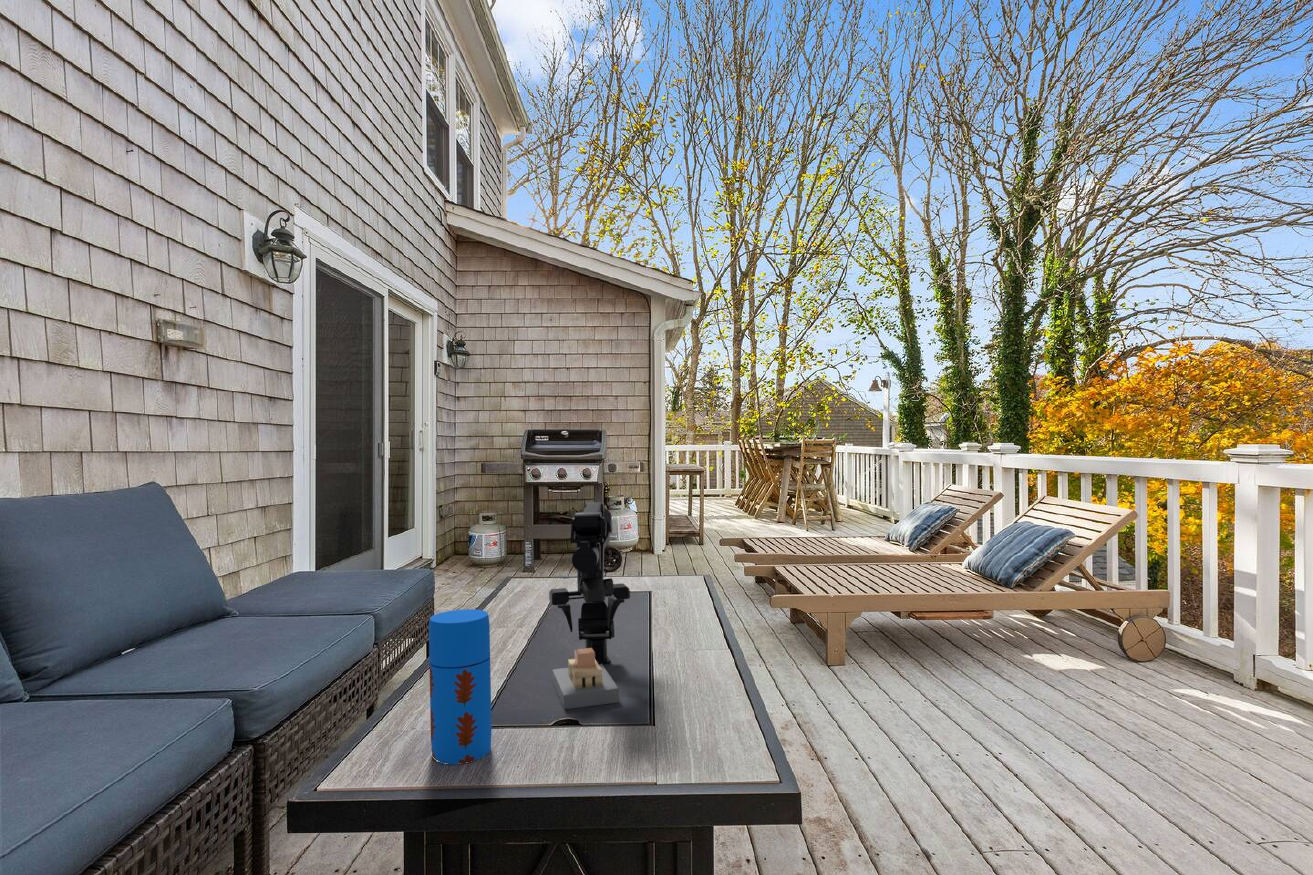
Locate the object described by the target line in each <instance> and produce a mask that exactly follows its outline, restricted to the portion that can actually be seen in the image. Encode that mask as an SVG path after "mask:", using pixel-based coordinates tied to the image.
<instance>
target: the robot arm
mask: <svg viewBox="0 0 1313 875" xmlns="http://www.w3.org/2000/svg"><path fill="white" fill-rule="evenodd" d="M570 529H571V530H570V541H569V542H570V544H576V549H575V551H574V552H573V553H572V556H571V564H572V566H573V568H574V569H575V570H576V572H577V573H576V574H577V575H576V576H577V577H576V578H577V580H576V581H577V582H576V584H577V590H572V591H569V590H568V589H567V588H566V587H562V588H561V587H560V588H551V589H550V590H549V591H548V592H549V594H548V600H549V602H550V604H551V606H556V608H558V609H561V610H562V612H563V615H564V617H565V620H566V624H567V627H568V629H569V631H570V632H569V633H573V620H572V613H571V605H570V603H569V601H570V600H580V599H583V600H584V601H585V602H583V603H582V605H581V609H580V615H579V616H578V618H577V620H578V622H577V624H578V625H577V626H578V628H577V629H578V640H579V641H583V640H584V646H585V647H584V649H585V648H592V649H593V651H594V652H595V660H596V661H597V663H598V664H602V665H605V664H610V663H612V660H611V659H610V657H609V656H608V640H612V638H615V634H616V633H615V621H614V619H615V615H616V612H617V610H618V608H619V606H620V605H621V604H624V603H625V601H626V600H629V599H631V590H630V588H629V587H628V586H627V585H626V584H624V583H623V582H622V583H614V580H613V578H612V577H611V578H605V577H604V576H605V574H604V572H605V571H604V570H605V548H606V547H607V545H609V543H610V540H611V534H612V533H613V518H612V513H611V512H610V511H609V510H608V509H606V507H605V503H604V502H601V501H597V502H596V501H595V502H594V501H593V502H592V501H591V502H590V501H589V502H587V503H585V504H584V510H583V511H582V512H581V511H580V512H575V514H574V515H573V517H572V518H571V527H570ZM606 597H607V603H606V602H605V600H606Z"/></svg>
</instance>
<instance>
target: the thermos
mask: <svg viewBox="0 0 1313 875" xmlns="http://www.w3.org/2000/svg"><path fill="white" fill-rule="evenodd" d="M490 623H491V622H490V618H489V612H488V611H486V610H483V609H473V608H472V609H471V608H470V609H469V608H467V609H456V610H454V609H453V610H447V611H443V612H440V613H436V614H433V615H431V616H430V618H429V625H428V646H429V647H428V649H429V651H428V652H429V654H428V655H429V656H428V657H429V704H430V705H429V709H430V710H429V711H430V744H431V756H433V757H434V758H435V759H436V760H438V761H440V762H442V763H448V764H458V763H459V764H458V765H461V764H460V763H465V764H467V763H466V762H470V763H472V762H471V761H474V760H476V759H479V758H481V759H483V758H484V757H485V756H484V755H486V756H487V755H488V754H489V753H490V751H491V749H492V685H491V684H492V682H491V681H492V680H491V634H490V633H491V631H490V630H491V628H490ZM483 756H484V757H483ZM482 757H483V758H482ZM479 760H480V759H479ZM476 761H477V760H476ZM474 762H475V761H474Z"/></svg>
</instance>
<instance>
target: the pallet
mask: <svg viewBox="0 0 1313 875" xmlns="http://www.w3.org/2000/svg"><path fill="white" fill-rule="evenodd" d="M567 668H568V675H569V677H570V679H571V681H572V683H573V685H574V687H575V689H578V688H582V682H583V684H584V686H585V687H586V688H587V687H592V681H593V683H594V684H595V686H602V669H601V667H600V666H599V664H598V663H597V661H596V660H595V666H592V667H583V668H577V666H576V664H575V658H570V659H569V658H568V659H567Z"/></svg>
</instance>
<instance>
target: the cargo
mask: <svg viewBox="0 0 1313 875" xmlns="http://www.w3.org/2000/svg"><path fill="white" fill-rule="evenodd" d="M573 652H574V659H575V664H576V666H577V668H583V667H592V666H595V652H594V651H593V649H592V648H585V647H584V648H577V649H574V651H573Z"/></svg>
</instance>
